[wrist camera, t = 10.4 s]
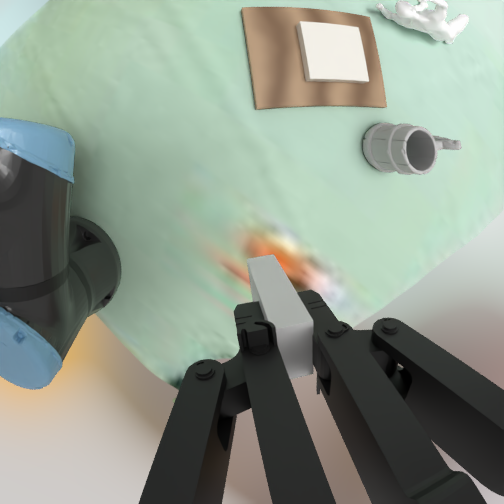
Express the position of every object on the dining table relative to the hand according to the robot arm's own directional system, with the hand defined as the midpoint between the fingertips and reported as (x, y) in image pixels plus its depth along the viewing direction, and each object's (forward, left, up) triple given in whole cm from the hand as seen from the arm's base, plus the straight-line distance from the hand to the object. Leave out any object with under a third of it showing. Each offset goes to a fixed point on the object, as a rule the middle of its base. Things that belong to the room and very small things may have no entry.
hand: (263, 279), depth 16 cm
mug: (+26, +6, -25) cm, 36 cm away
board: (+15, +20, -24) cm, 35 cm away
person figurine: (+36, +29, -25) cm, 53 cm away
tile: (+12, +20, -22) cm, 32 cm away
